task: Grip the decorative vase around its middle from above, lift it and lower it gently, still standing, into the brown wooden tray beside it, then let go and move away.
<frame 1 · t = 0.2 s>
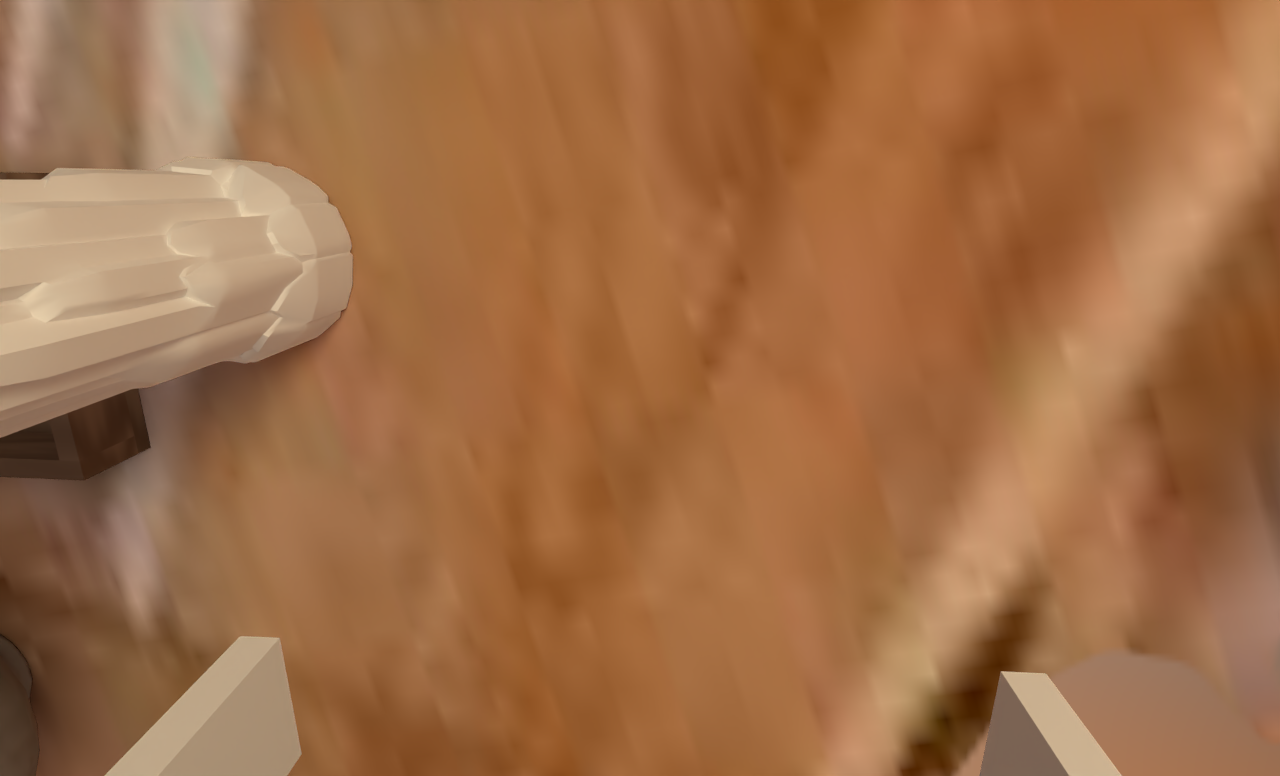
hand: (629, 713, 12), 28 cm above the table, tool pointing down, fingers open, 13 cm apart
decorative vase: (268, 256, 39), on the table
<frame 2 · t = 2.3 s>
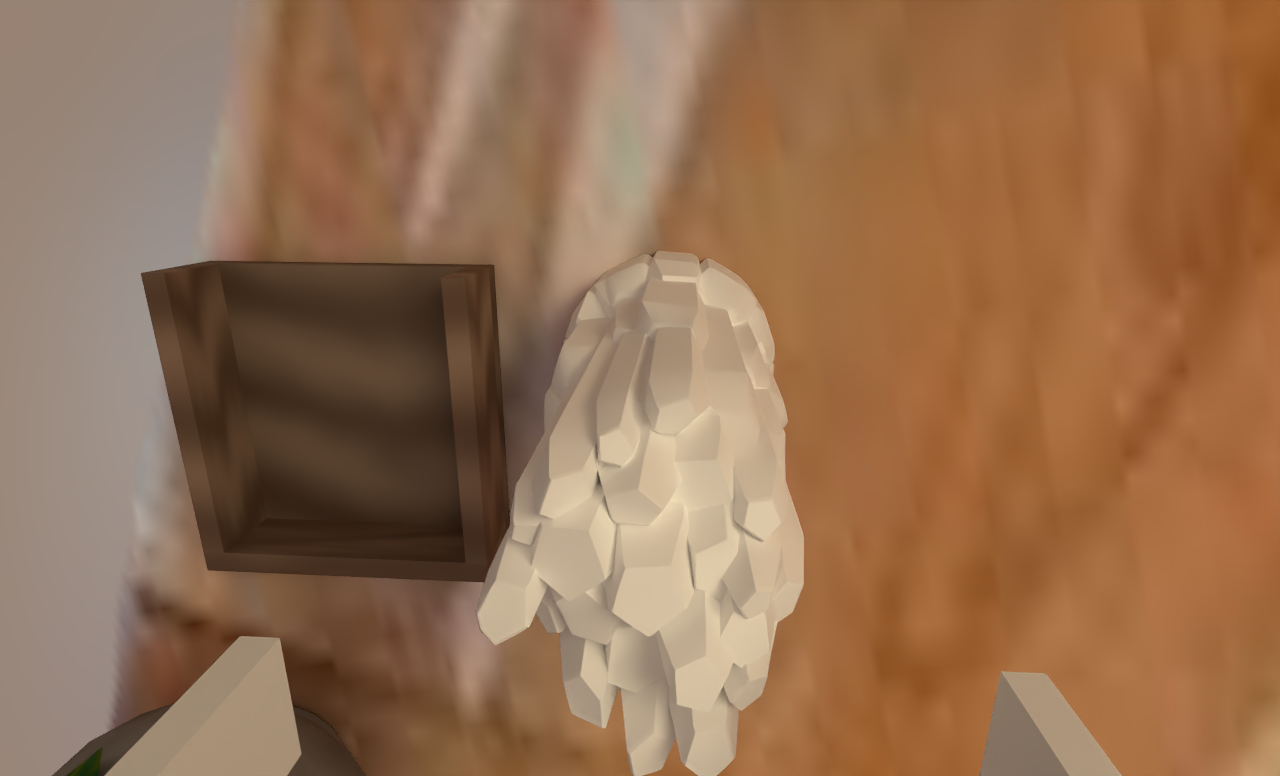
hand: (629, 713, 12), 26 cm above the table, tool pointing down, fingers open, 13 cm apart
decorative vase: (669, 346, 37), on the table
flower arrangement: (295, 746, 48), on the table
brown wooden tray: (368, 405, 39), on the table
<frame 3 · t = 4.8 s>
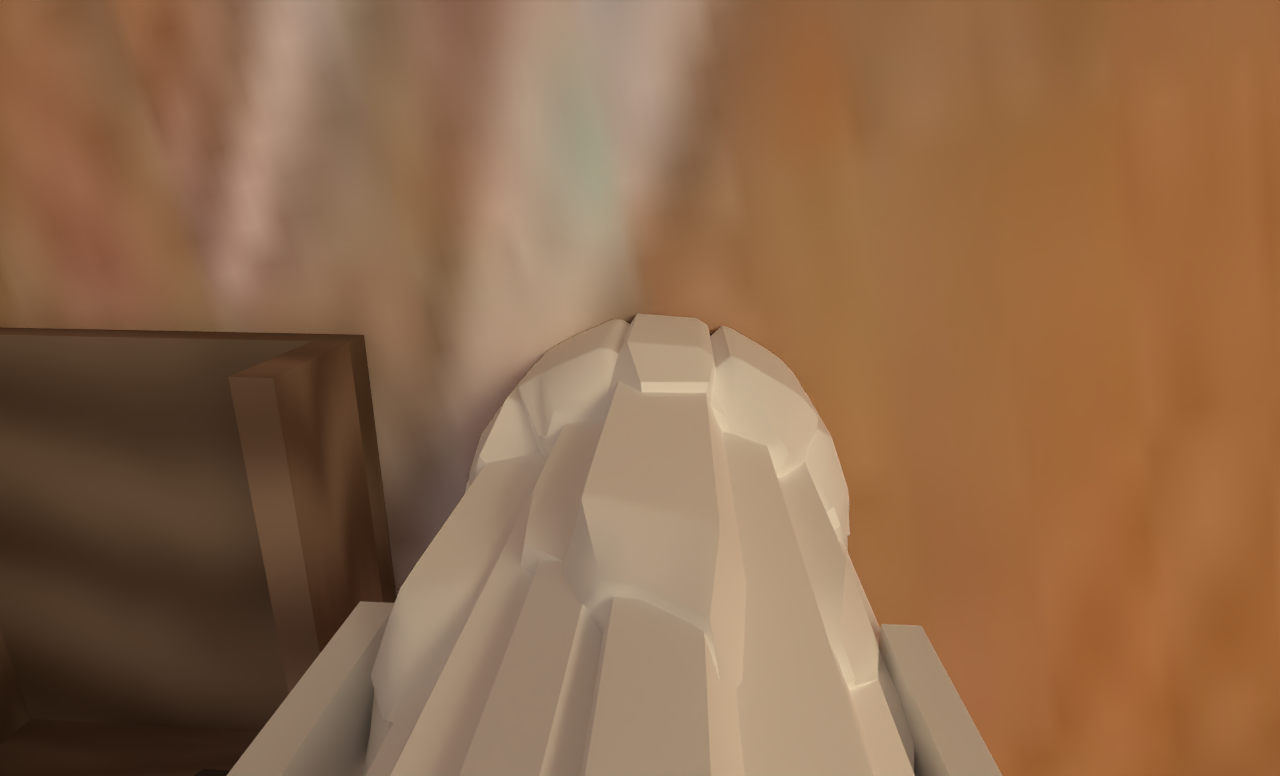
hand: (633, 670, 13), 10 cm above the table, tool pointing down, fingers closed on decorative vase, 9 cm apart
decorative vase: (659, 466, 23), on the table, touching gripper
brown wooden tray: (178, 552, 25), on the table
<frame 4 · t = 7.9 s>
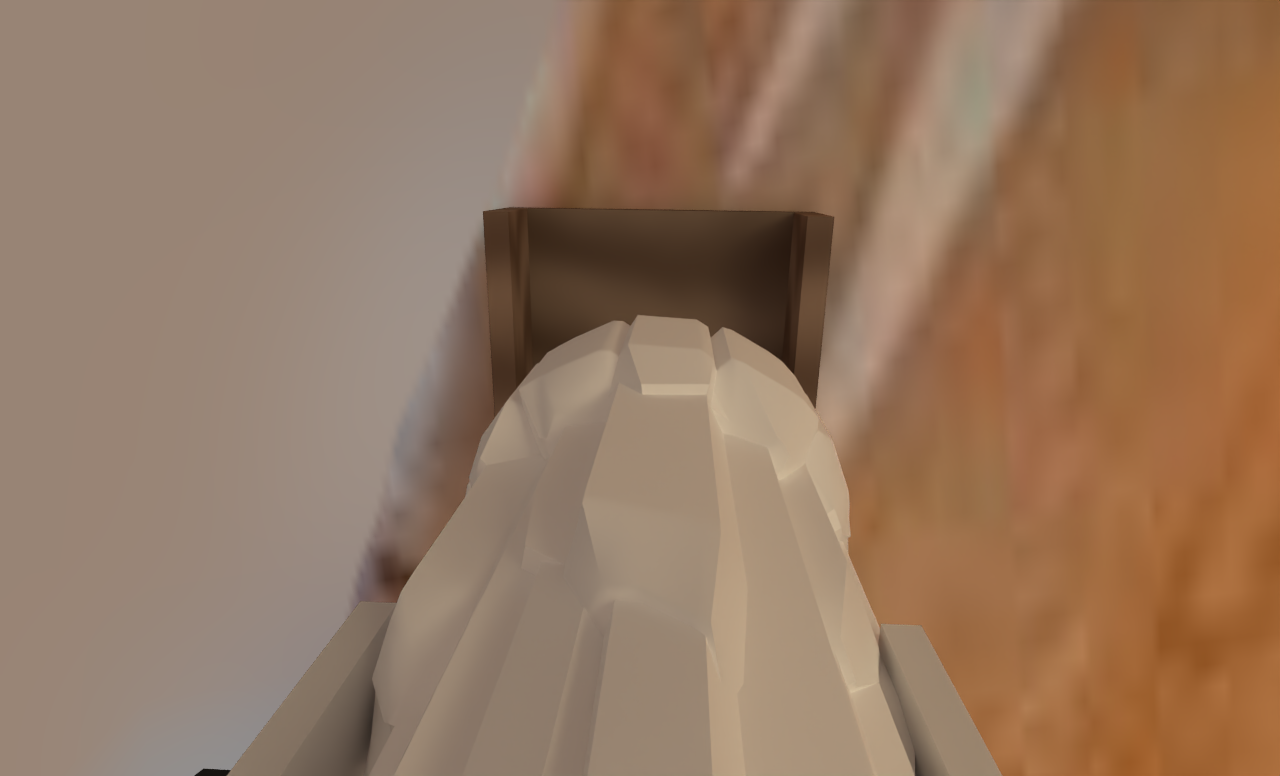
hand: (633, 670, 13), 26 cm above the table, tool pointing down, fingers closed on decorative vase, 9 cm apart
decorative vase: (660, 468, 23), point 16 cm above the table, touching gripper
brown wooden tray: (656, 361, 38), on the table
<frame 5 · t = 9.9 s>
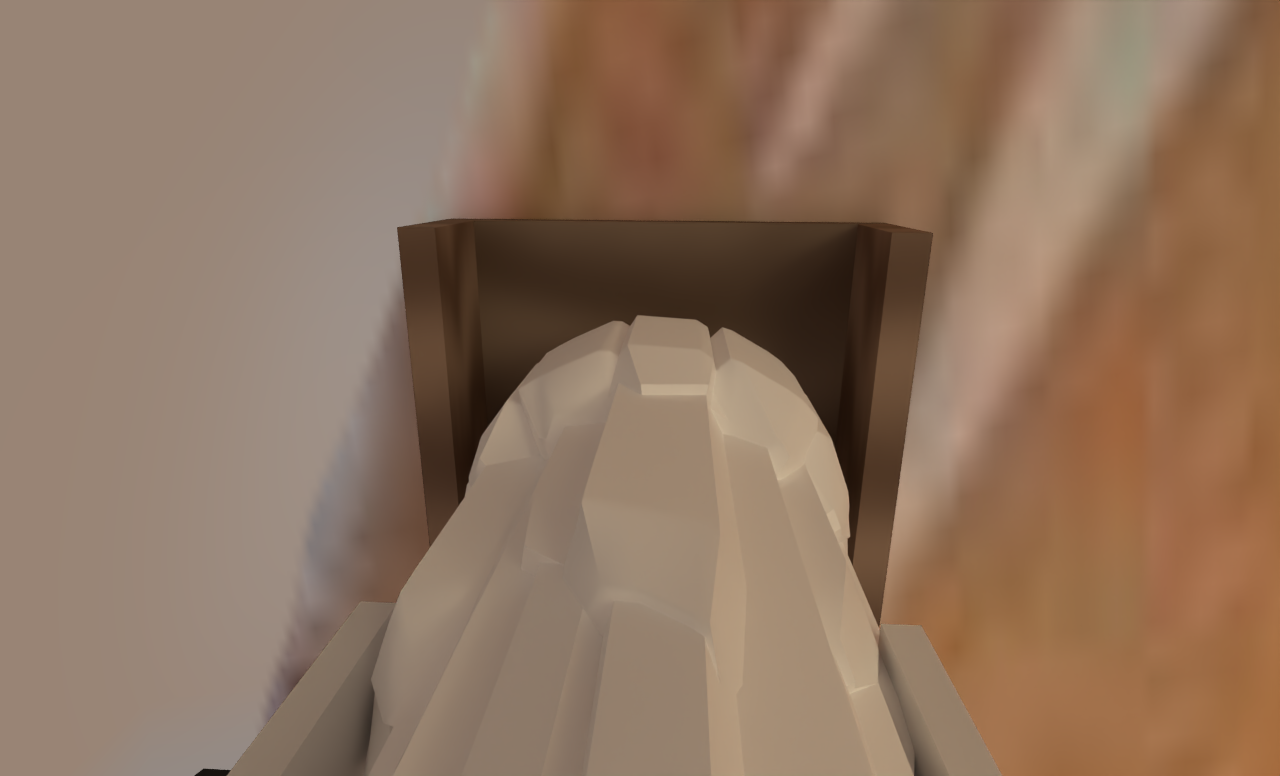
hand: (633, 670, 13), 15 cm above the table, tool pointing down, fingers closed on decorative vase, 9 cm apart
decorative vase: (659, 468, 23), point 5 cm above the table, touching gripper
brown wooden tray: (660, 430, 27), on the table
when the fingers open (12 cm above the table, at t = 11.5 s): decorative vase drops 1 cm, resting on brown wooden tray.
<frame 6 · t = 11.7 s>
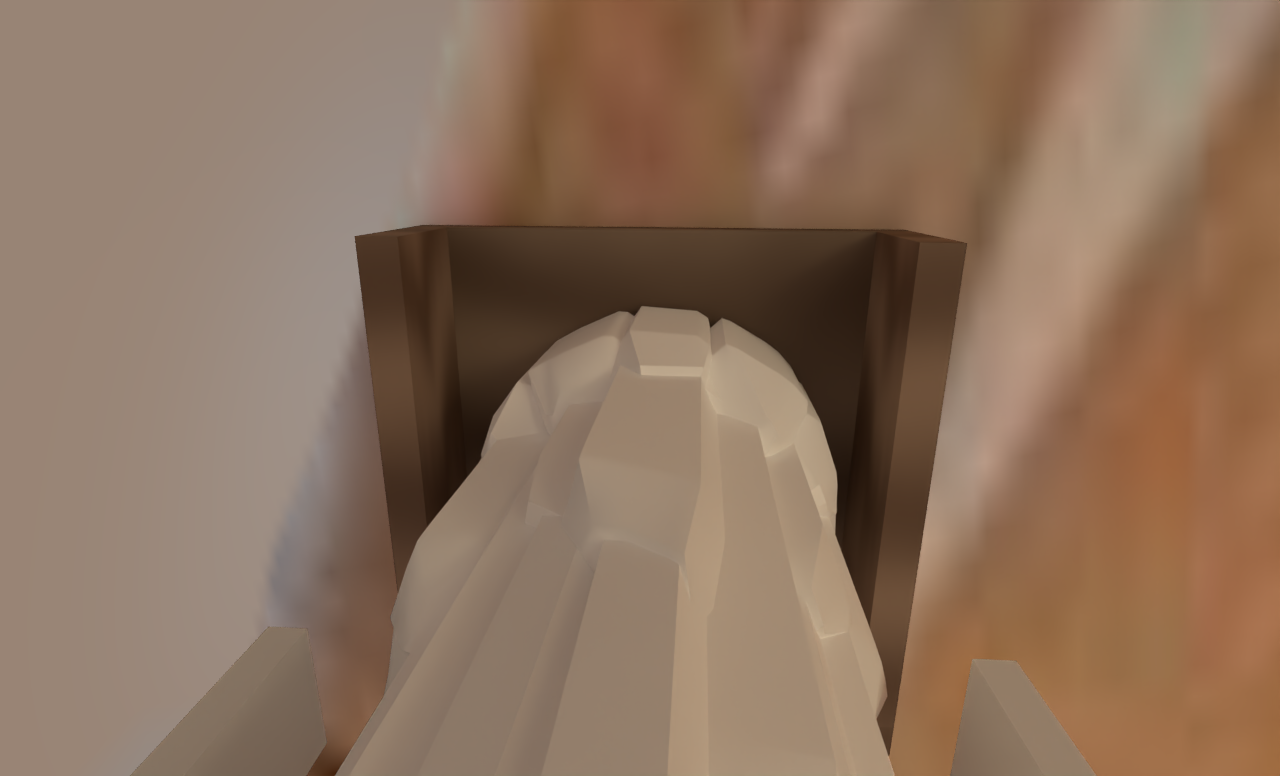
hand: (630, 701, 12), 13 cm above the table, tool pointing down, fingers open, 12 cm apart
decorative vase: (662, 452, 24), point 1 cm above the table, touching brown wooden tray
brown wooden tray: (655, 457, 25), on the table
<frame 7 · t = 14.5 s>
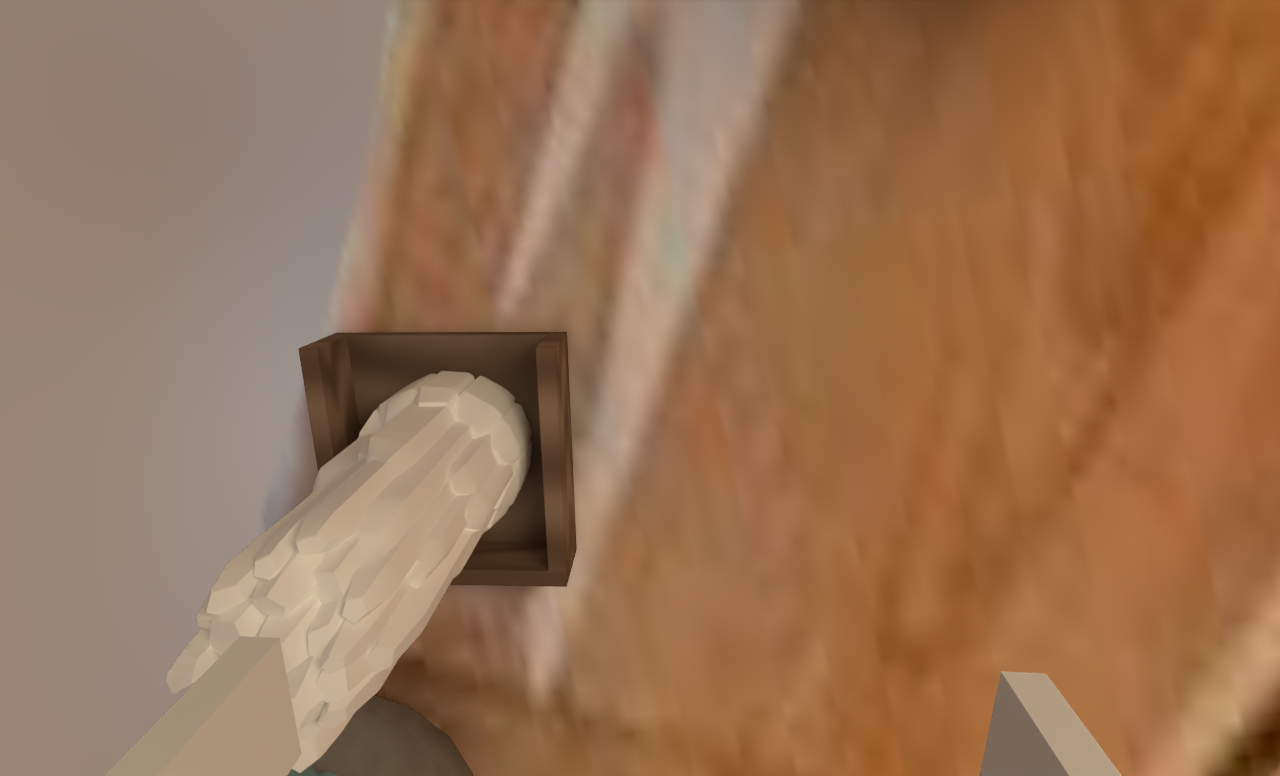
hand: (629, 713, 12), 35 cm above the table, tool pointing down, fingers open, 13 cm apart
decorative vase: (460, 441, 48), point 1 cm above the table, touching brown wooden tray
flower arrangement: (387, 736, 57), on the table
brown wooden tray: (461, 445, 49), on the table
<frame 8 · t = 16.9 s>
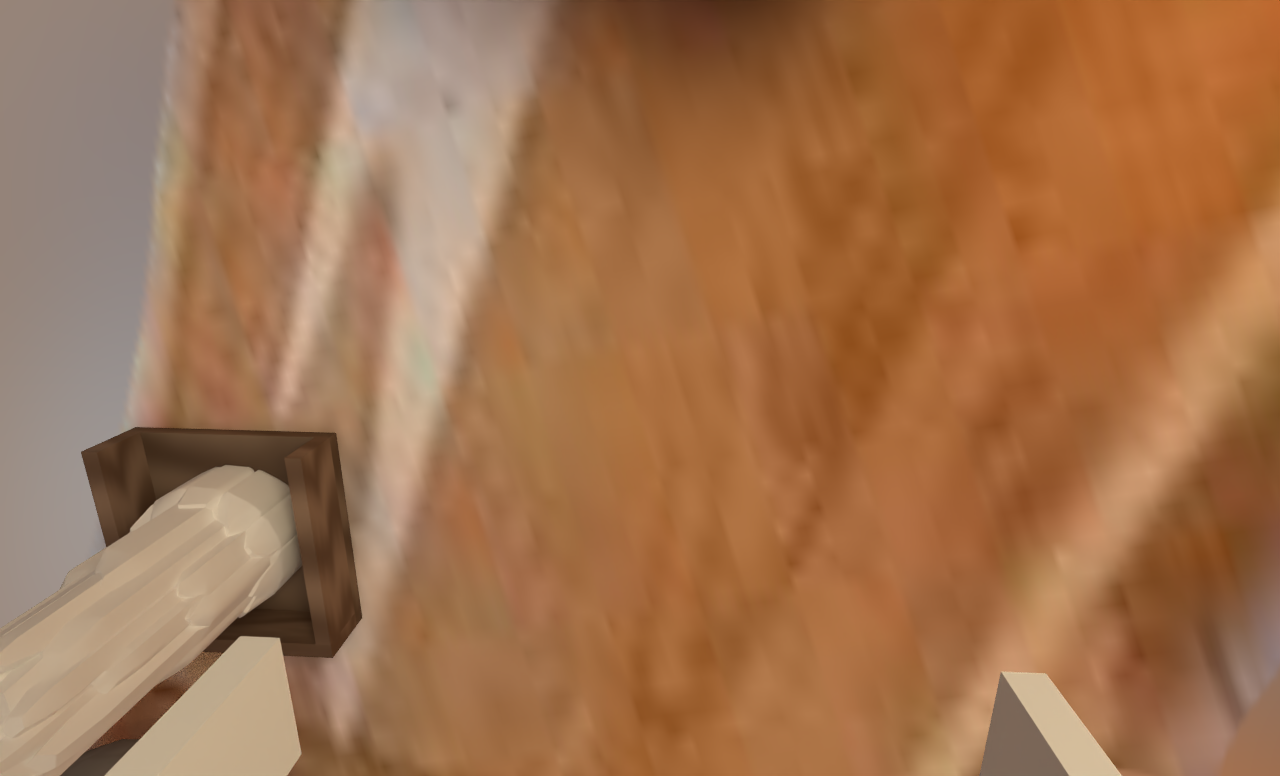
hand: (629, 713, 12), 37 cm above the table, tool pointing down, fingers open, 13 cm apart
decorative vase: (248, 524, 53), point 1 cm above the table, touching brown wooden tray
flower arrangement: (212, 772, 63), on the table
brown wooden tray: (253, 526, 54), on the table
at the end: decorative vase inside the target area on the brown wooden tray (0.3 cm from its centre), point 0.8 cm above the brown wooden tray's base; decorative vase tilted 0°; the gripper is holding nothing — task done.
